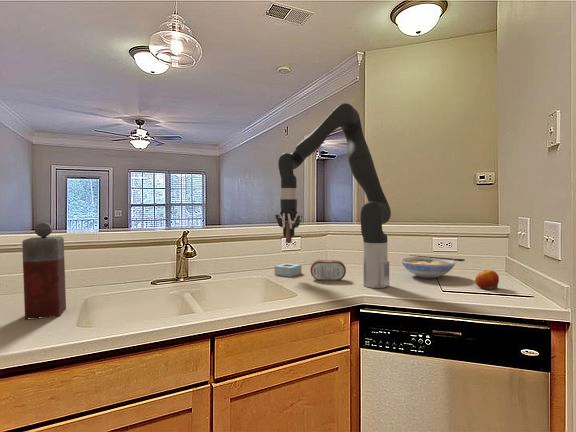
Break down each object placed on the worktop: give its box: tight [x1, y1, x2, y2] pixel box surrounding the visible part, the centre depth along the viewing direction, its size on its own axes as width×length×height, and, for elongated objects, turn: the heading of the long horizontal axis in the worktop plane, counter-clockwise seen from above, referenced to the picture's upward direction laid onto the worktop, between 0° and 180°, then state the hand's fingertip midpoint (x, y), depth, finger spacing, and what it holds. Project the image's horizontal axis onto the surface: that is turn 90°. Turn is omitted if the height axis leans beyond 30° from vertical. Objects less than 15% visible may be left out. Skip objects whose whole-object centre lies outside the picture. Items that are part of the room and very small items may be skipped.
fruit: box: [474, 269, 500, 290], centre depth 139 cm, size 8×8×8 cm
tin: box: [310, 259, 347, 282], centre depth 157 cm, size 15×3×8 cm, turn 84°
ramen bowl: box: [400, 254, 466, 279], centre depth 161 cm, size 25×23×8 cm
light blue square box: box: [273, 263, 303, 278], centre depth 171 cm, size 9×9×4 cm
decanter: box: [21, 222, 67, 320], centre depth 113 cm, size 9×11×28 cm
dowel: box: [285, 220, 293, 244], centre depth 166 cm, size 3×3×10 cm
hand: (288, 236), depth 166 cm, fingers closed on dowel, 2 cm apart
